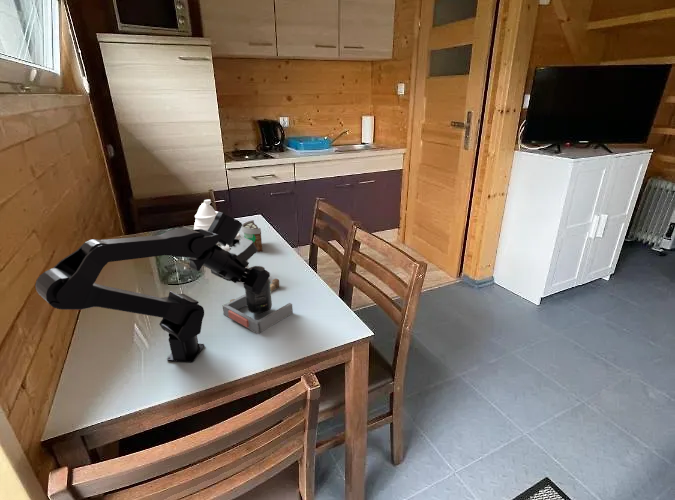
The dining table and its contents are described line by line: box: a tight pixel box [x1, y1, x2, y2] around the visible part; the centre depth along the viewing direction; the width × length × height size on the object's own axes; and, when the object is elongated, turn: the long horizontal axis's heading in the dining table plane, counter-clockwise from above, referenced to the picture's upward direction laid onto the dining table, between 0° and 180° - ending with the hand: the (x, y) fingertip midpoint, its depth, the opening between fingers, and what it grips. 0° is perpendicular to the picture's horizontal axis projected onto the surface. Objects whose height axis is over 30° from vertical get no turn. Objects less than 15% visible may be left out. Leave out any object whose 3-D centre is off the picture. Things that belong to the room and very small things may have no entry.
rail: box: [229, 278, 281, 302], centre depth 114 cm, size 18×2×2 cm, turn 140°
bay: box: [222, 293, 294, 334], centre depth 105 cm, size 13×15×3 cm
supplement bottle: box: [244, 265, 273, 315], centre depth 104 cm, size 7×7×12 cm
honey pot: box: [193, 199, 219, 245], centre depth 158 cm, size 13×13×18 cm
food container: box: [241, 219, 263, 253], centre depth 150 cm, size 12×6×10 cm, turn 25°
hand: (259, 284), depth 104 cm, fingers closed on supplement bottle, 7 cm apart
